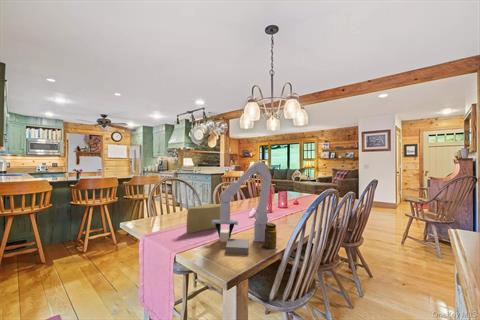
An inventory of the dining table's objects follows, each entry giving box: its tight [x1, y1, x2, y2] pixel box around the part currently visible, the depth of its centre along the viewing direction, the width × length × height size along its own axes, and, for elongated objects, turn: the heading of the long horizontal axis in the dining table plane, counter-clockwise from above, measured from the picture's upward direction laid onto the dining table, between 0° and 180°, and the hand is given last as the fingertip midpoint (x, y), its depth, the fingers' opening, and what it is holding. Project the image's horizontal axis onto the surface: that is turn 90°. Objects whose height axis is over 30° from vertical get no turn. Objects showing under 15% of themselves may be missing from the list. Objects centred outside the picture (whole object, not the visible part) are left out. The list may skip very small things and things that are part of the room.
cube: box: [219, 229, 231, 243], centre depth 123 cm, size 5×5×5 cm
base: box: [225, 238, 250, 255], centre depth 112 cm, size 11×11×3 cm
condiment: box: [258, 222, 280, 253], centre depth 114 cm, size 7×8×12 cm
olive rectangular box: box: [186, 203, 220, 234], centre depth 141 cm, size 22×10×15 cm, turn 130°
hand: (224, 237), depth 123 cm, fingers closed on cube, 5 cm apart
